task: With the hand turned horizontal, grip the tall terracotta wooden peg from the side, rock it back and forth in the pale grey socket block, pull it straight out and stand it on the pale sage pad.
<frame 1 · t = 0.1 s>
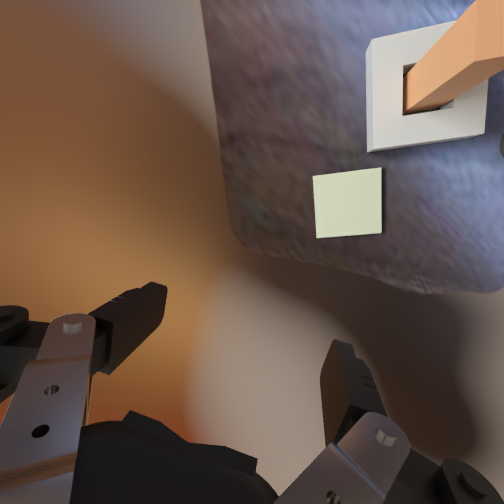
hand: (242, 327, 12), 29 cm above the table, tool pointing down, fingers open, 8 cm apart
socket block: (417, 95, 32), on the table
pad: (346, 204, 37), on the table
peg: (449, 69, 25), in the socket block
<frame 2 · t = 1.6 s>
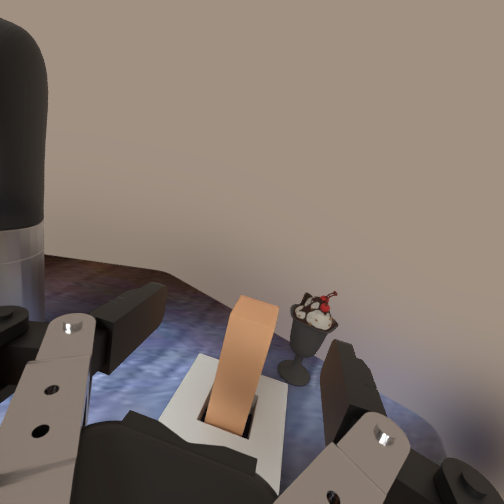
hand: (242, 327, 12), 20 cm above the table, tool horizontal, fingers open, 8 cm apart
sundae: (293, 374, 39), on the table
socket block: (224, 427, 28), on the table
peg: (239, 373, 26), in the socket block
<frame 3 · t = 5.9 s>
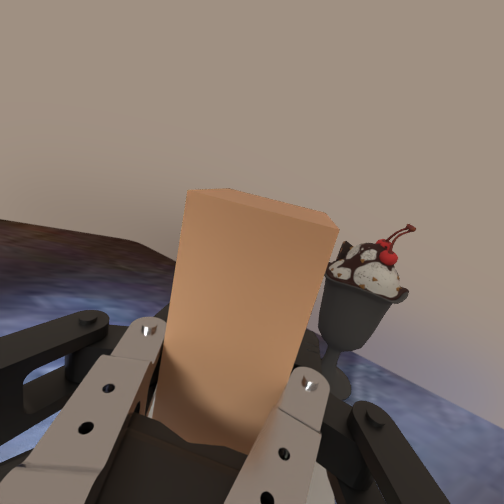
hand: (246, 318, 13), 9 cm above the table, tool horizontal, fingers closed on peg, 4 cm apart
sundae: (323, 379, 23), on the table
socket block: (195, 502, 13), on the table
peg: (224, 383, 11), in the socket block, touching gripper
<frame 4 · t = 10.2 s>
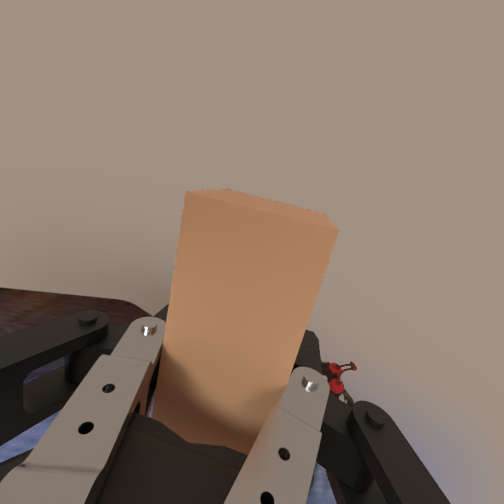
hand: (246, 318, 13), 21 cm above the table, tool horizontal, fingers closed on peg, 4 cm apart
sundae: (289, 470, 26), on the table
peg: (224, 385, 10), point 19 cm above the table, touching gripper
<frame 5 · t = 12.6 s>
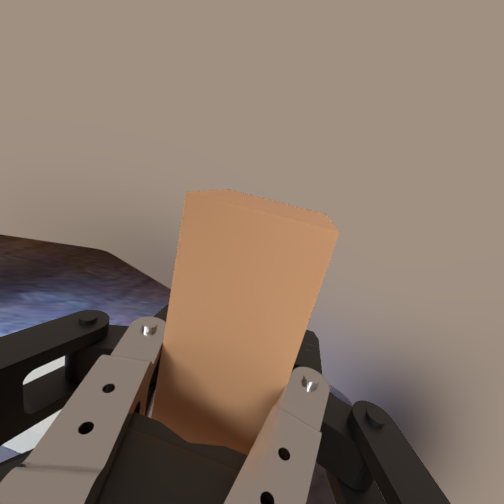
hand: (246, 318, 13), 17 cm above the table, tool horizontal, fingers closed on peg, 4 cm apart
socket block: (96, 397, 25), on the table
peg: (224, 385, 10), point 16 cm above the table, touching gripper
when the fingers open (10 cm above the table, at t = 14.5 s): peg stays where it is, resting on pad.
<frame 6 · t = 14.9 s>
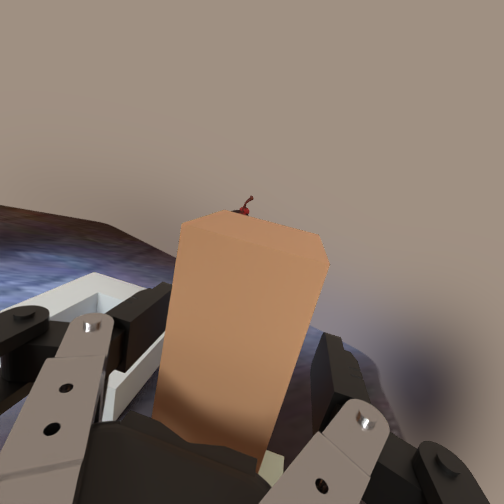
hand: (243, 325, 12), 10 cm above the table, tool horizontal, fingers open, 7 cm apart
socket block: (99, 342, 23), on the table
peg: (220, 402, 11), on the pad, point 8 cm above the table
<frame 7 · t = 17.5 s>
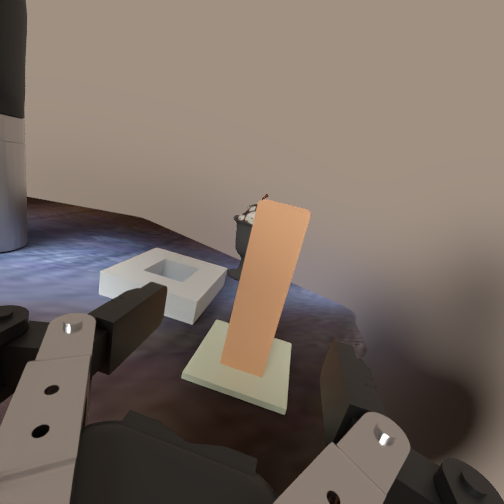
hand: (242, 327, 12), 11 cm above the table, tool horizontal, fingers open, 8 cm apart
sundae: (240, 276, 46), on the table
socket block: (170, 289, 35), on the table
pad: (243, 360, 25), on the table
peg: (263, 288, 23), on the pad, point 8 cm above the table
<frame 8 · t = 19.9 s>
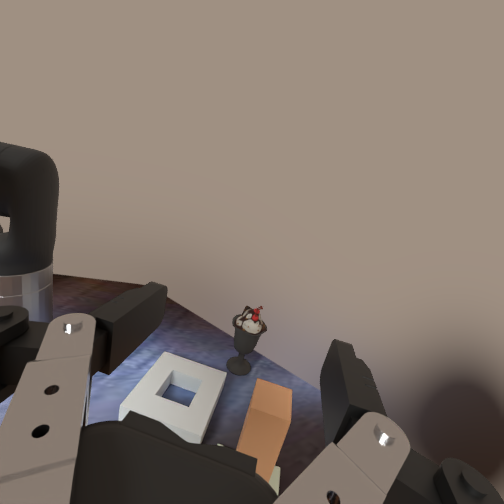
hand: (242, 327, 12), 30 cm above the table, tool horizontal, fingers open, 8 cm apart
sundae: (238, 367, 52), on the table
socket block: (177, 401, 41), on the table
peg: (255, 449, 29), on the pad, point 8 cm above the table
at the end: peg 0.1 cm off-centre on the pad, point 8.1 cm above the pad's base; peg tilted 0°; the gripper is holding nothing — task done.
